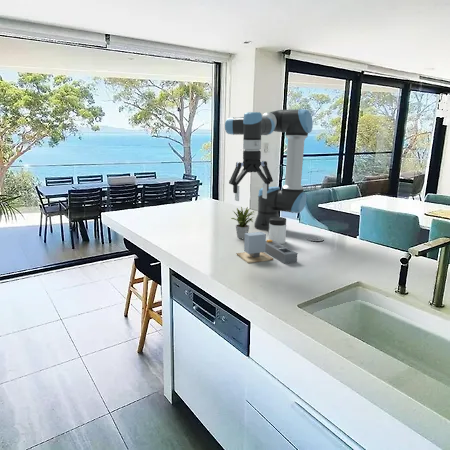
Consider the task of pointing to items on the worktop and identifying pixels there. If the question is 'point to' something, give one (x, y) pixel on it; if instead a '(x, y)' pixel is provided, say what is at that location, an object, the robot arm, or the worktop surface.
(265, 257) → the tan flat square block
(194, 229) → the worktop surface
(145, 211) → the worktop surface
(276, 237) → the jar
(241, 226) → the house plant
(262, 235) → the block
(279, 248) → the power strip
